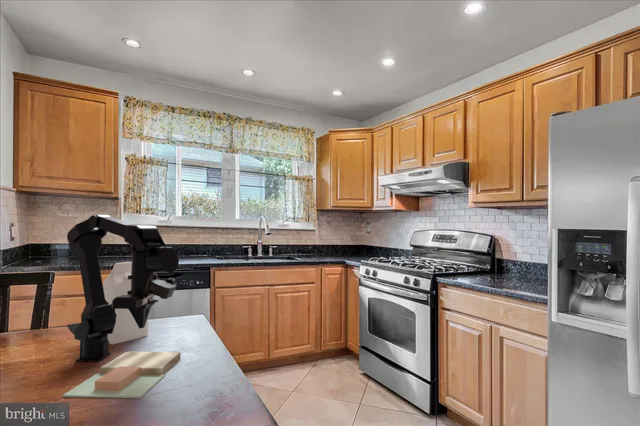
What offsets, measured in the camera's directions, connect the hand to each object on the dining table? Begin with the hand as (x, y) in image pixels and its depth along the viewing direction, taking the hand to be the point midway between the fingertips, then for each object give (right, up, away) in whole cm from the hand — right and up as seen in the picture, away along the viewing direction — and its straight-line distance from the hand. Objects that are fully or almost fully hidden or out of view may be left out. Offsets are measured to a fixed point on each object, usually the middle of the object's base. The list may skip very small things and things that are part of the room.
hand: (141, 328), depth 98 cm
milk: (-20, -12, +27) cm, 36 cm away
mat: (0, -11, -11) cm, 15 cm away
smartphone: (-42, -13, +38) cm, 58 cm away
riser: (0, -11, +1) cm, 11 cm away
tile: (-1, -10, -10) cm, 14 cm away
